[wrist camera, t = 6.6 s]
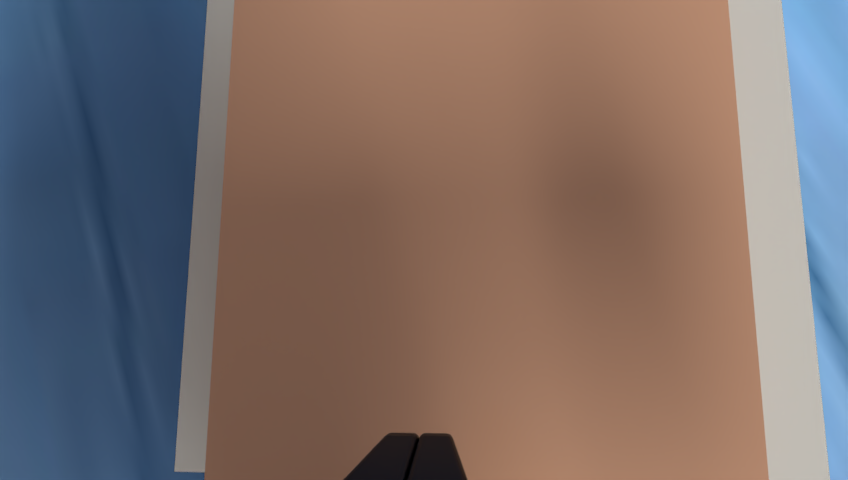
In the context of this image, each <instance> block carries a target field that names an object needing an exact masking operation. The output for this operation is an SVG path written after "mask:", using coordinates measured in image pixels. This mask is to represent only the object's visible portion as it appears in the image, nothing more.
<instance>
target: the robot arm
mask: <svg viewBox="0 0 848 480" xmlns="http://www.w3.org/2000/svg"><path fill="white" fill-rule="evenodd" d="M343 480H468V479H467V477H466V474H465V471H464V468H463V465H462V462H461V459H460V456H459V454H458V451H457V448H456V445H455V442H454V439H453V437H452V436H451V435H450V434H448V433H423V434H422V435H421V436H420V437H419V436H418V435H417V434H416V433H388V434H387V435H385V436H384V437H383V438H382V439H381V440H380V441H379V443H378V444H377V445H376V446H375V447H374V448H373V449H372V450H371V451H370V452H369V453H368V454H367V455H366V456H365V457H364V458H363V459H362V460H361V461H360V462H359V464H358V465H357V466H356V467H355V468H354V469H353V470H352V471H351V472H350V473H349V474H348V475H347V476H346V477H345V478H344V479H343Z"/></svg>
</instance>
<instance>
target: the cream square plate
mask: <svg viewBox="0 0 848 480" xmlns="http://www.w3.org/2000/svg"><path fill="white" fill-rule="evenodd" d="M728 6H729V18H730V30H731V41H732V53H733V65H734V77H735V88H736V100H737V112H738V123H739V135H740V147H741V159H742V170H743V182H744V194H745V205H746V217H747V229H748V241H749V252H750V264H751V276H752V287H753V299H754V311H755V323H756V334H757V346H758V358H759V369H760V381H761V393H762V405H763V416H764V428H765V440H766V451H767V463H768V475H769V480H830V476H829V466H828V456H827V446H826V436H825V426H824V416H823V407H822V397H821V387H820V377H819V367H818V357H817V347H816V338H815V328H814V318H813V308H812V298H811V288H810V278H809V268H808V259H807V249H806V239H805V229H804V219H803V209H802V199H801V190H800V180H799V170H798V160H797V150H796V140H795V130H794V121H793V111H792V101H791V91H790V81H789V71H788V61H787V51H786V42H785V32H784V22H783V12H782V2H781V0H728ZM233 15H234V0H208V2H207V16H206V31H205V45H204V59H203V73H202V87H201V101H200V116H199V130H198V144H197V158H196V172H195V186H194V200H193V215H192V229H191V243H190V257H189V271H188V285H187V299H186V314H185V328H184V342H183V356H182V370H181V384H180V398H179V413H178V427H177V441H176V455H175V469H174V472H205V462H206V446H207V430H208V414H209V398H210V382H211V366H212V350H213V334H214V318H215V302H216V286H217V270H218V254H219V238H220V222H221V207H222V191H223V175H224V159H225V143H226V127H227V111H228V95H229V79H230V63H231V47H232V31H233Z"/></svg>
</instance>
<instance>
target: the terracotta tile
mask: <svg viewBox="0 0 848 480" xmlns="http://www.w3.org/2000/svg"><path fill="white" fill-rule="evenodd" d="M388 433H416V434H417V435H418V436H419V437H420V436H421V435H422V434H423V433H448V434H450V435H451V436H452V437H453V439H454V442H455V445H456V448H457V451H458V454H459V456H460V459H461V462H462V465H463V468H464V471H465V474H466V477H467V479H468V480H769V475H768V463H767V451H766V440H765V428H764V416H763V405H762V393H761V381H760V369H759V358H758V346H757V334H756V323H755V311H754V299H753V287H752V276H751V264H750V252H749V241H748V229H747V217H746V205H745V194H744V182H743V170H742V159H741V147H740V135H739V123H738V112H737V100H736V88H735V77H734V65H733V53H732V41H731V30H730V18H729V6H728V0H234V15H233V31H232V47H231V63H230V79H229V95H228V111H227V127H226V143H225V159H224V175H223V191H222V207H221V222H220V238H219V254H218V270H217V286H216V302H215V318H214V334H213V350H212V366H211V382H210V398H209V414H208V430H207V446H206V462H205V478H204V480H343V479H344V478H345V477H346V476H347V475H348V474H349V473H350V472H351V471H352V470H353V469H354V468H355V467H356V466H357V465H358V464H359V462H360V461H361V460H362V459H363V458H364V457H365V456H366V455H367V454H368V453H369V452H370V451H371V450H372V449H373V448H374V447H375V446H376V445H377V444H378V443H379V441H380V440H381V439H382V438H383V437H384V436H385V435H387V434H388Z"/></svg>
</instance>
